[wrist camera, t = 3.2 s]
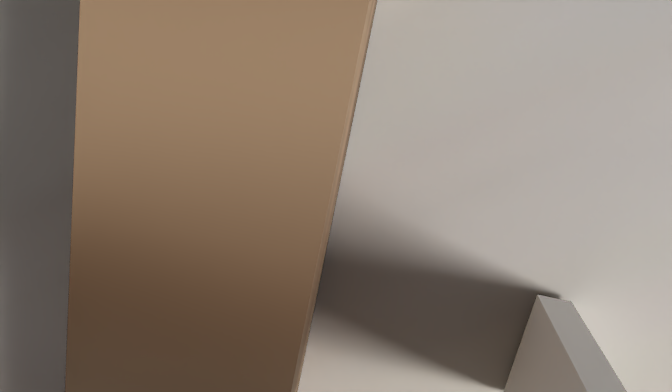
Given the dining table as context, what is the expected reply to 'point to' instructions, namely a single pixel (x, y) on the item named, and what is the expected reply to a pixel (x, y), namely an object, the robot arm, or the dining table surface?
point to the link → (205, 187)
